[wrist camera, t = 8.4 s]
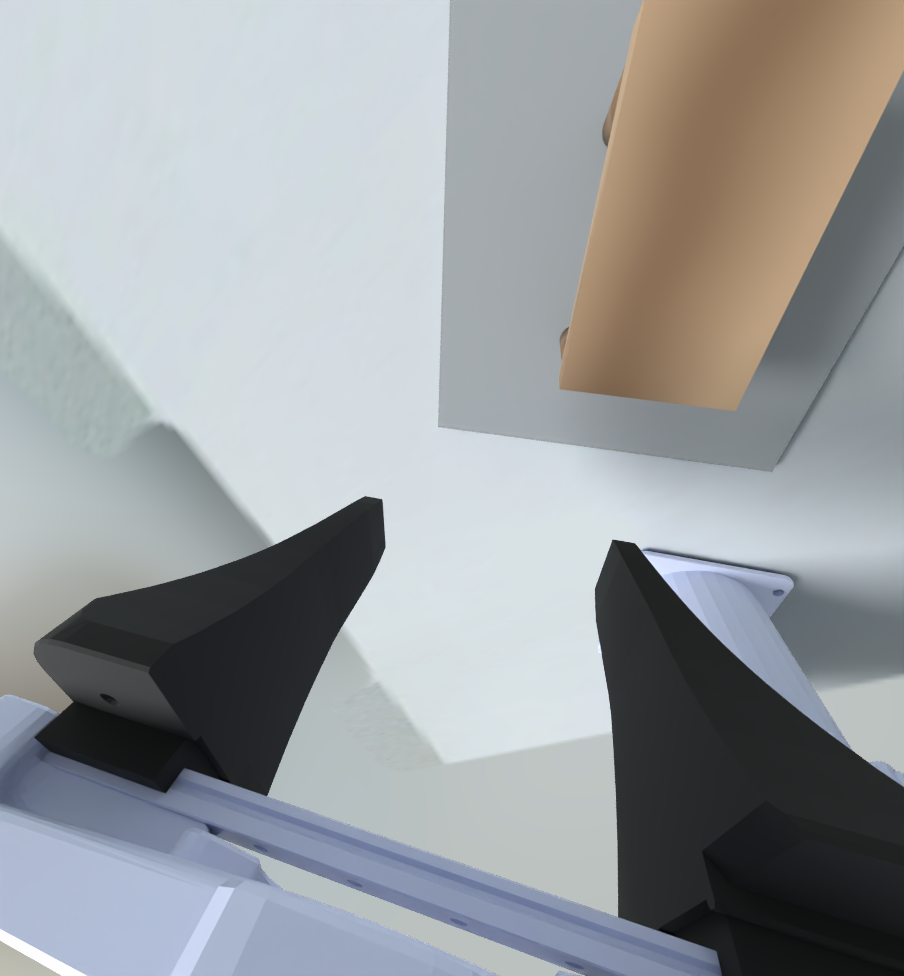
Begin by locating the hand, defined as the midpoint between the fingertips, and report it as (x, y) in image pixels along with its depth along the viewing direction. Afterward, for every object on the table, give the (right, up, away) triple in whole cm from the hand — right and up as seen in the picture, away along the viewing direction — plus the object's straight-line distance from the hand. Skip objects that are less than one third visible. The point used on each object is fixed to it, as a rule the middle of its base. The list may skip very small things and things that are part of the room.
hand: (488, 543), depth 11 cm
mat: (+6, +11, +3) cm, 13 cm away
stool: (+6, +11, +2) cm, 13 cm away
